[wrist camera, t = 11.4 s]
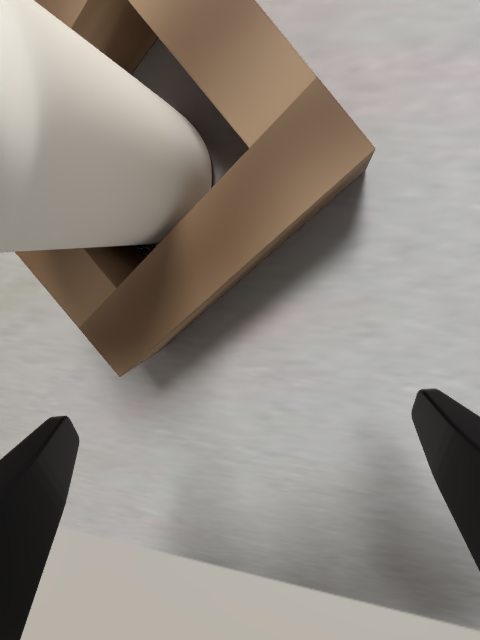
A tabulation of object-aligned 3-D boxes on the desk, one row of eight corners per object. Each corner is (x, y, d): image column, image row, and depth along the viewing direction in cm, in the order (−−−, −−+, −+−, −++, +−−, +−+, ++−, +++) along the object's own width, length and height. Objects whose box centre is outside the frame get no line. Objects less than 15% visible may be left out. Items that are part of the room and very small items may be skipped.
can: (237, 204, 17) (33, 145, 5) (138, 264, 19) (-152, 309, 8) (176, 78, 16) (-201, -286, 5) (81, 155, 18) (-327, 31, 7)
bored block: (365, 169, 15) (375, 148, 11) (160, 349, 20) (119, 377, 16) (159, -83, 15) (98, -192, 11) (5, 163, 20) (-73, 146, 16)
